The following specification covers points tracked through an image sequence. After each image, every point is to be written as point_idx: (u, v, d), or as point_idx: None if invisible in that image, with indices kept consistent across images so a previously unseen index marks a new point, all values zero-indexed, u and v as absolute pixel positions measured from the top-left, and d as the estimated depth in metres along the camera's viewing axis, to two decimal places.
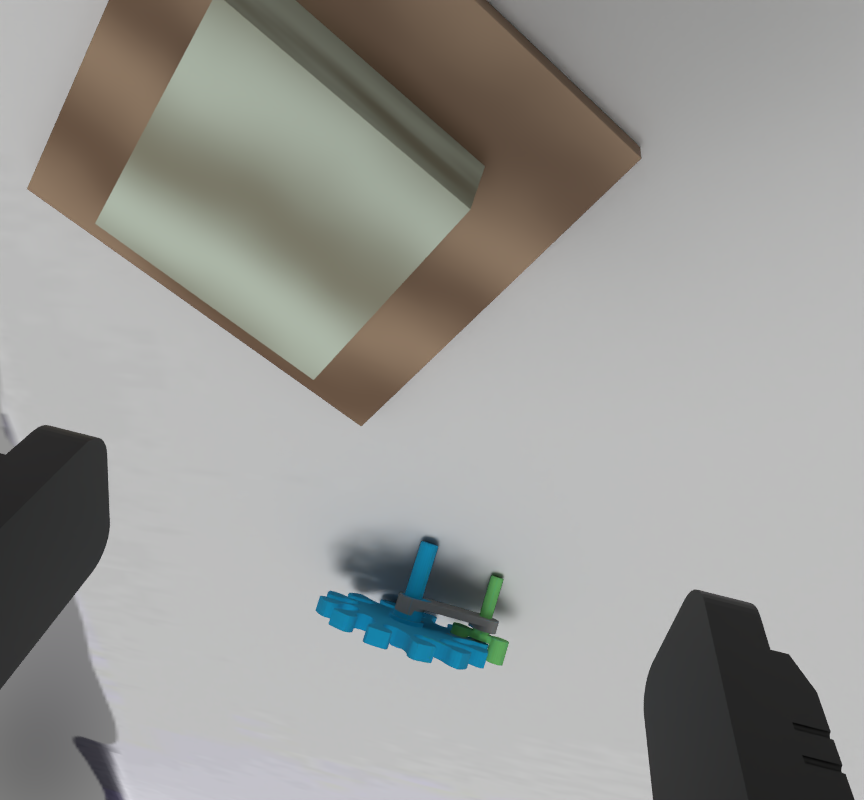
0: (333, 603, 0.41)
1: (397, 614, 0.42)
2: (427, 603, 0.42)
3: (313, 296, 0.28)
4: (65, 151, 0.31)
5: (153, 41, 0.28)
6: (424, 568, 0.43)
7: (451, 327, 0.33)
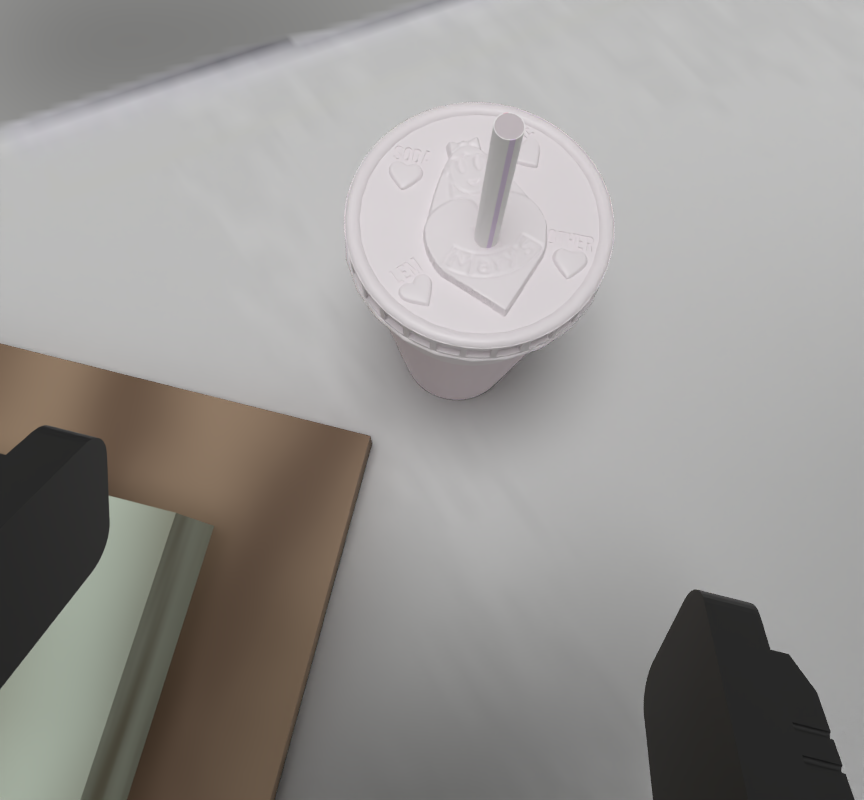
0: None
1: None
2: None
3: None
4: None
5: (95, 426, 0.25)
6: None
7: None
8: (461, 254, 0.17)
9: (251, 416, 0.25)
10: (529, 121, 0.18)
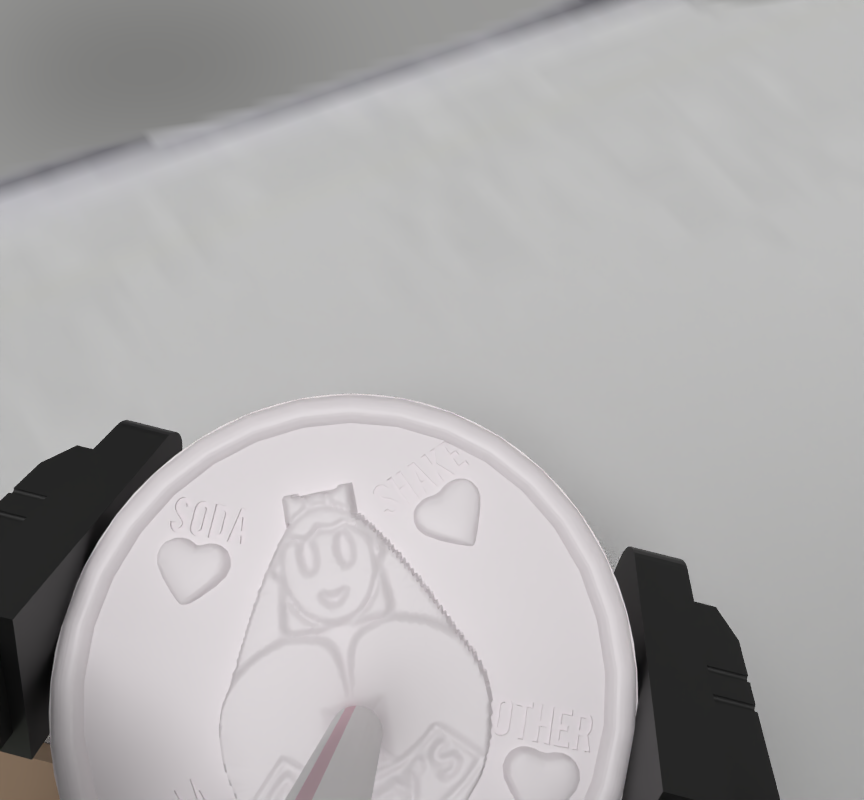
0: None
1: None
2: None
3: None
4: None
5: None
6: None
7: None
8: None
9: (40, 778, 0.15)
10: (460, 436, 0.09)
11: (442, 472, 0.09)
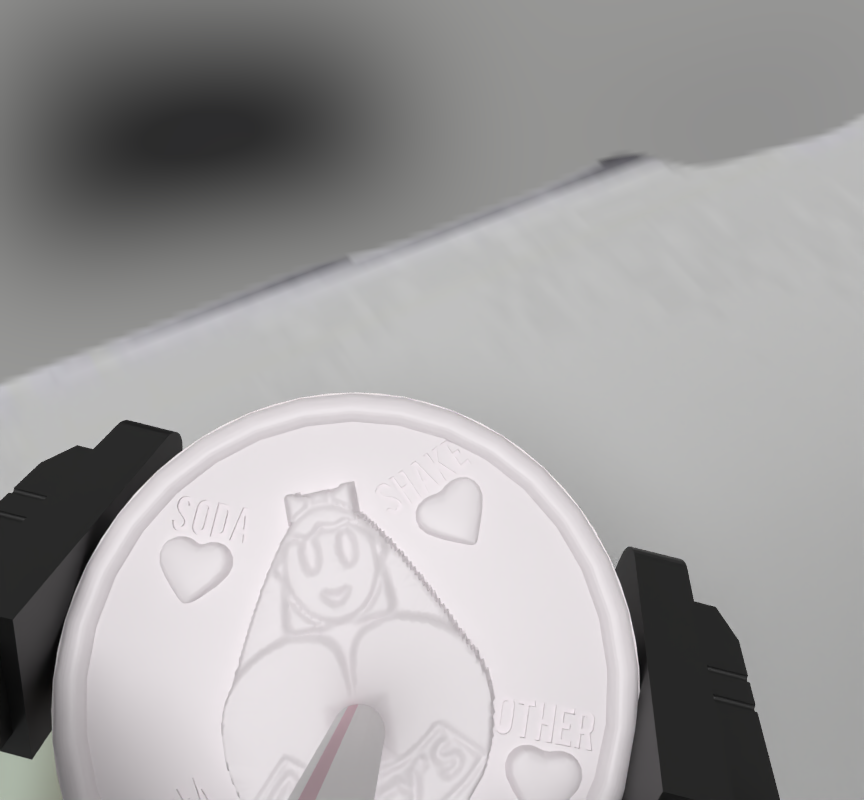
0: None
1: None
2: None
3: None
4: None
5: None
6: None
7: None
8: None
9: None
10: (462, 436, 0.09)
11: (444, 472, 0.09)
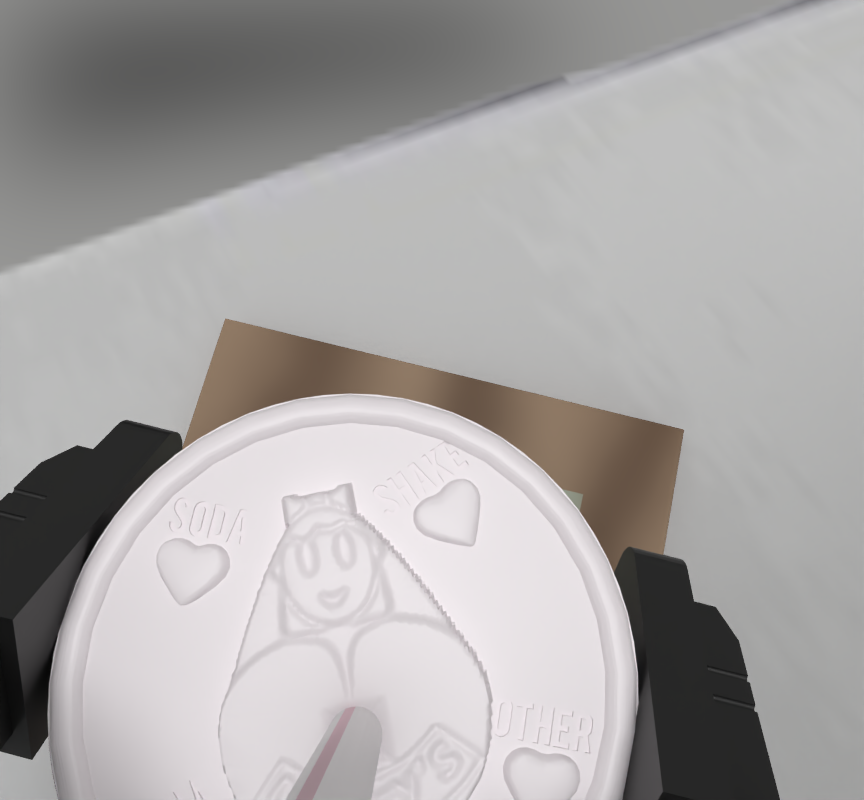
0: None
1: None
2: None
3: None
4: (291, 354, 0.29)
5: None
6: None
7: None
8: None
9: (580, 413, 0.29)
10: (460, 437, 0.09)
11: (442, 473, 0.09)
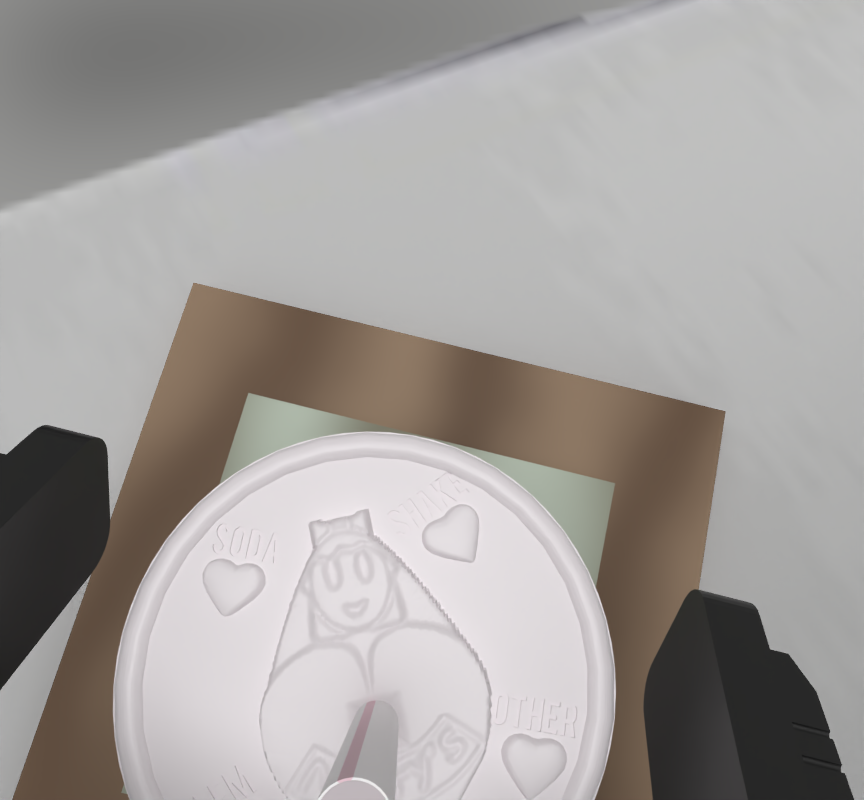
0: None
1: None
2: None
3: None
4: (269, 324, 0.25)
5: (452, 402, 0.24)
6: None
7: None
8: (328, 765, 0.09)
9: (605, 392, 0.25)
10: (460, 467, 0.10)
11: (446, 499, 0.10)
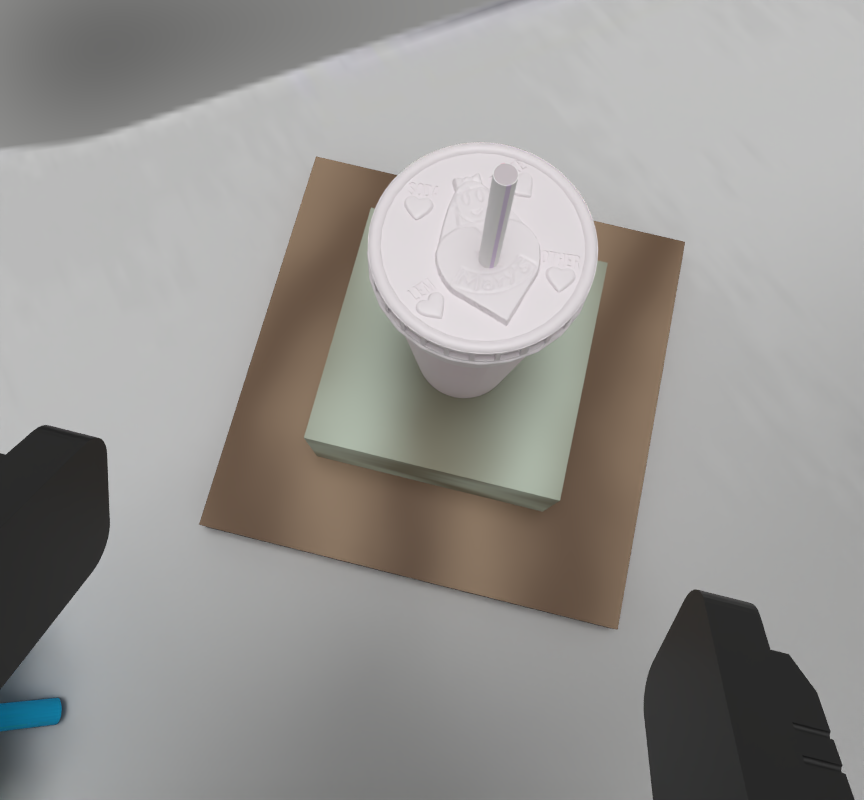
0: None
1: None
2: None
3: (402, 405, 0.29)
4: (369, 184, 0.36)
5: None
6: (24, 718, 0.30)
7: (376, 558, 0.32)
8: (468, 274, 0.20)
9: (602, 229, 0.36)
10: (523, 157, 0.21)
11: None
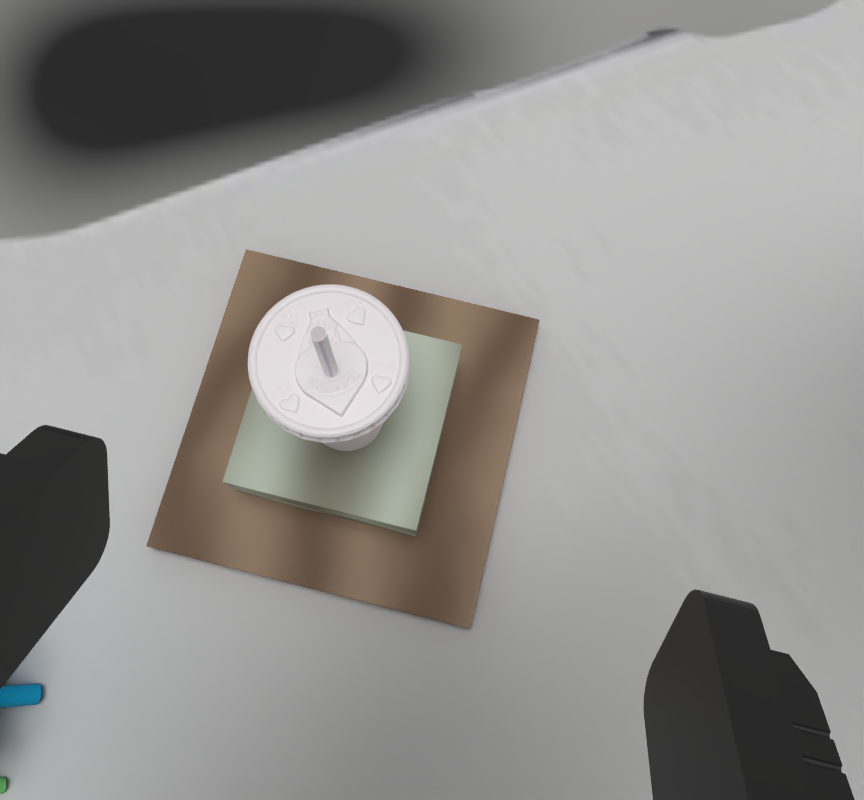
0: None
1: None
2: None
3: (298, 456, 0.38)
4: (288, 272, 0.45)
5: None
6: (12, 699, 0.39)
7: (284, 573, 0.41)
8: (316, 381, 0.29)
9: (473, 309, 0.45)
10: (360, 295, 0.30)
11: (354, 305, 0.30)
